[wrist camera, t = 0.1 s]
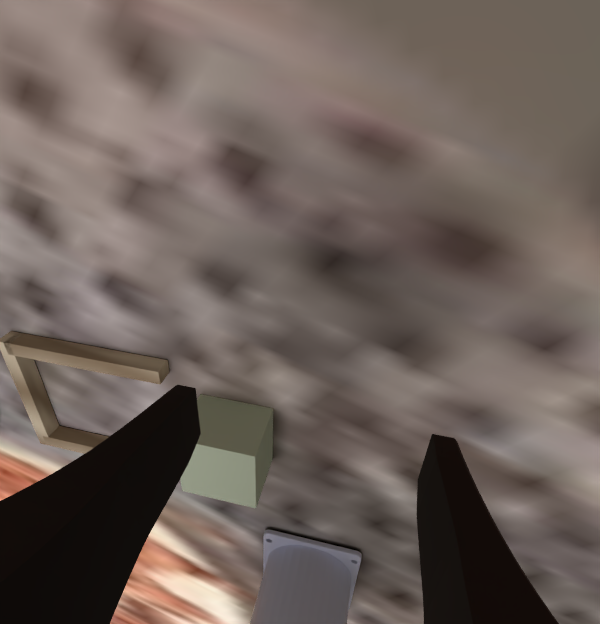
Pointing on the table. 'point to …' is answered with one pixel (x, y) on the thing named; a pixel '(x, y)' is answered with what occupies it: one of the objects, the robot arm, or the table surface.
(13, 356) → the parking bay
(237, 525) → the table surface
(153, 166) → the table surface
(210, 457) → the sage block
